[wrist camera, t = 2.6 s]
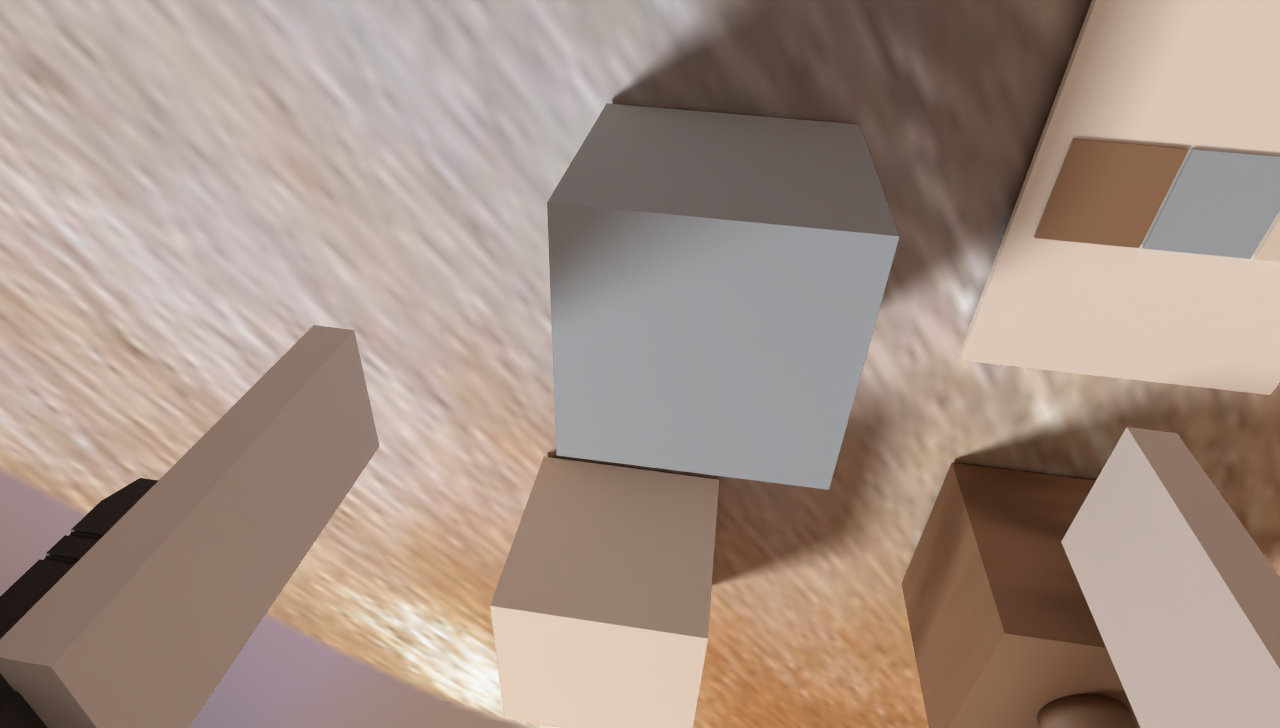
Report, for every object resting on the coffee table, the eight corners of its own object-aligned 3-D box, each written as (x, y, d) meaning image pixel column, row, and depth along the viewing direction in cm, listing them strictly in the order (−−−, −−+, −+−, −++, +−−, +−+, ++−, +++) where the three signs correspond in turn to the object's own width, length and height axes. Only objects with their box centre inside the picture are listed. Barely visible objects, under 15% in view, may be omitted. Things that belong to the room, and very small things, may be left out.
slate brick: (603, 314, 21) (556, 455, 16) (606, 103, 17) (547, 202, 12) (812, 337, 20) (829, 490, 15) (859, 124, 17) (899, 236, 12)
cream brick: (549, 568, 28) (504, 718, 23) (544, 456, 25) (490, 605, 20) (702, 590, 28) (689, 748, 23) (719, 479, 24) (708, 638, 19)
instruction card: (958, 356, 20) (961, 362, 20) (1115, -62, 14) (1121, -60, 14) (1265, 390, 19) (1272, 397, 19) (1565, -34, 13) (1580, -31, 13)
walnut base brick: (901, 583, 26) (937, 771, 21) (951, 462, 22) (1010, 652, 17) (1075, 608, 25) (1157, 806, 20) (1155, 487, 22) (1279, 691, 16)
